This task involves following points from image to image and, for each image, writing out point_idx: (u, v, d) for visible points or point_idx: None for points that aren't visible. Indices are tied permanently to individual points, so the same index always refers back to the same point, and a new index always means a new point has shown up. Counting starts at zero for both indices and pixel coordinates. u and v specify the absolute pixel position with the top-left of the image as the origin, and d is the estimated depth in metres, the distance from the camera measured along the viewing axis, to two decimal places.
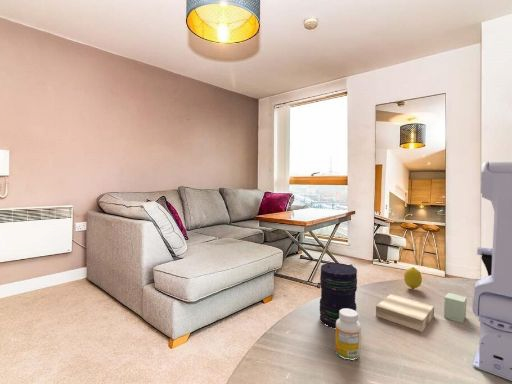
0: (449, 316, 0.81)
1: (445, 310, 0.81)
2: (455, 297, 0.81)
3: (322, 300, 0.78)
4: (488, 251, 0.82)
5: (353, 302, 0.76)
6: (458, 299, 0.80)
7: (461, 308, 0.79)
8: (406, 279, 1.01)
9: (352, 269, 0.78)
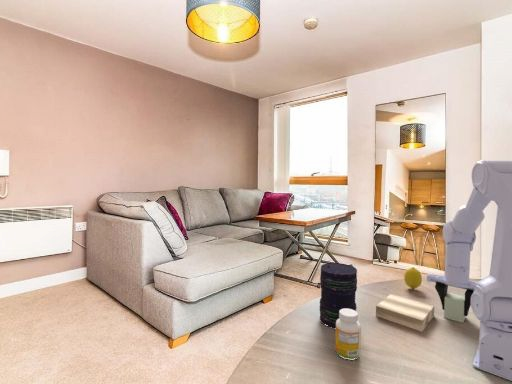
0: (449, 316, 0.81)
1: (445, 310, 0.81)
2: (455, 297, 0.81)
3: (322, 300, 0.78)
4: (436, 279, 0.83)
5: (353, 302, 0.76)
6: (458, 299, 0.80)
7: (461, 308, 0.79)
8: (406, 279, 1.01)
9: (352, 269, 0.78)
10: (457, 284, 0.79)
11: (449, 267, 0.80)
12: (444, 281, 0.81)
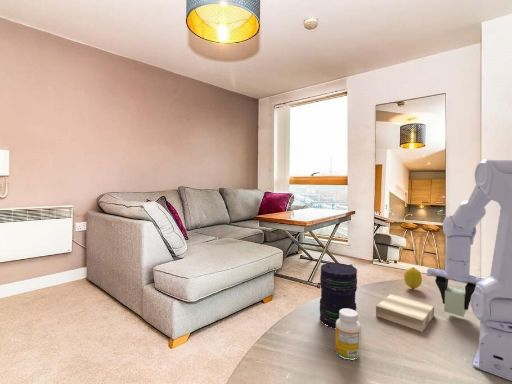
0: (449, 310, 0.81)
1: (445, 304, 0.81)
2: (455, 291, 0.81)
3: (322, 300, 0.78)
4: (436, 273, 0.83)
5: (353, 302, 0.76)
6: (458, 293, 0.80)
7: (462, 301, 0.79)
8: (406, 279, 1.01)
9: (352, 269, 0.78)
10: (457, 278, 0.79)
11: (449, 261, 0.80)
12: (444, 275, 0.81)
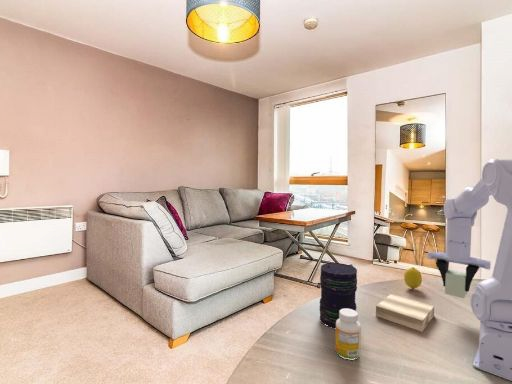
0: (450, 292, 0.80)
1: (446, 286, 0.81)
2: (456, 273, 0.81)
3: (322, 300, 0.78)
4: (437, 255, 0.83)
5: (353, 302, 0.76)
6: (459, 274, 0.80)
7: (462, 283, 0.78)
8: (406, 279, 1.01)
9: (352, 269, 0.78)
10: (458, 259, 0.78)
11: (450, 243, 0.80)
12: (445, 257, 0.81)
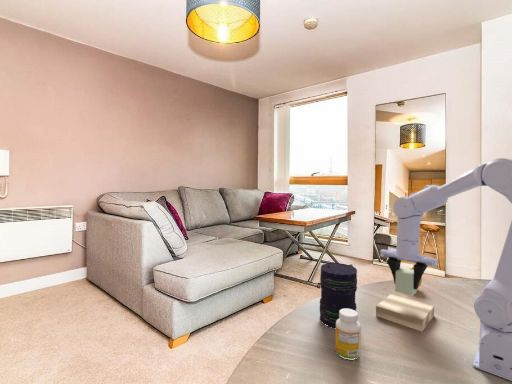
0: (400, 290, 0.81)
1: (396, 284, 0.82)
2: (406, 271, 0.81)
3: (322, 300, 0.78)
4: (388, 253, 0.84)
5: (353, 302, 0.76)
6: (408, 272, 0.80)
7: (410, 281, 0.79)
8: None
9: (352, 269, 0.78)
10: (406, 257, 0.79)
11: (399, 241, 0.80)
12: (395, 255, 0.81)
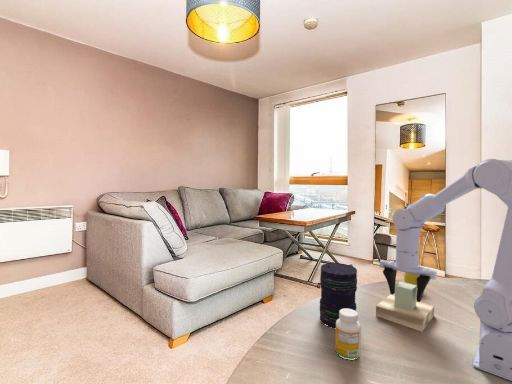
0: (399, 304, 0.81)
1: (395, 298, 0.82)
2: (405, 285, 0.82)
3: (322, 300, 0.78)
4: (387, 264, 0.84)
5: (353, 302, 0.76)
6: (407, 287, 0.80)
7: (410, 296, 0.79)
8: (406, 279, 1.01)
9: (352, 269, 0.78)
10: (405, 269, 0.79)
11: (399, 252, 0.81)
12: (394, 266, 0.82)
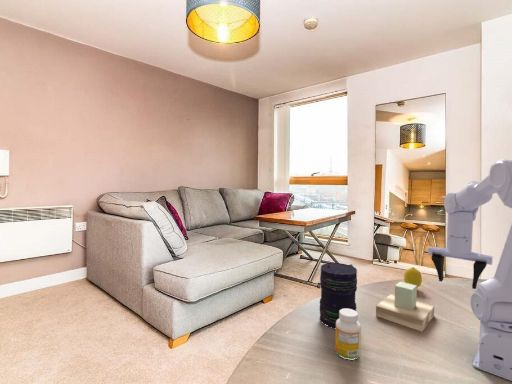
0: (399, 304, 0.81)
1: (395, 298, 0.82)
2: (405, 285, 0.82)
3: (322, 300, 0.78)
4: (438, 251, 0.81)
5: (353, 302, 0.76)
6: (407, 287, 0.80)
7: (410, 296, 0.79)
8: (406, 279, 1.01)
9: (352, 269, 0.78)
10: (459, 254, 0.77)
11: (451, 238, 0.78)
12: (446, 252, 0.79)
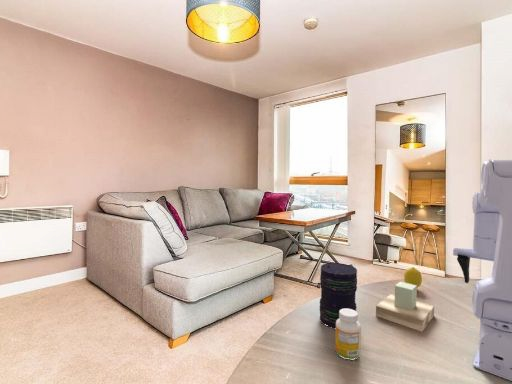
0: (399, 304, 0.81)
1: (395, 298, 0.82)
2: (405, 285, 0.82)
3: (322, 300, 0.78)
4: (464, 252, 0.80)
5: (353, 302, 0.76)
6: (407, 287, 0.80)
7: (410, 296, 0.79)
8: (406, 279, 1.01)
9: (352, 269, 0.78)
10: (487, 256, 0.75)
11: (478, 239, 0.77)
12: (473, 254, 0.78)
